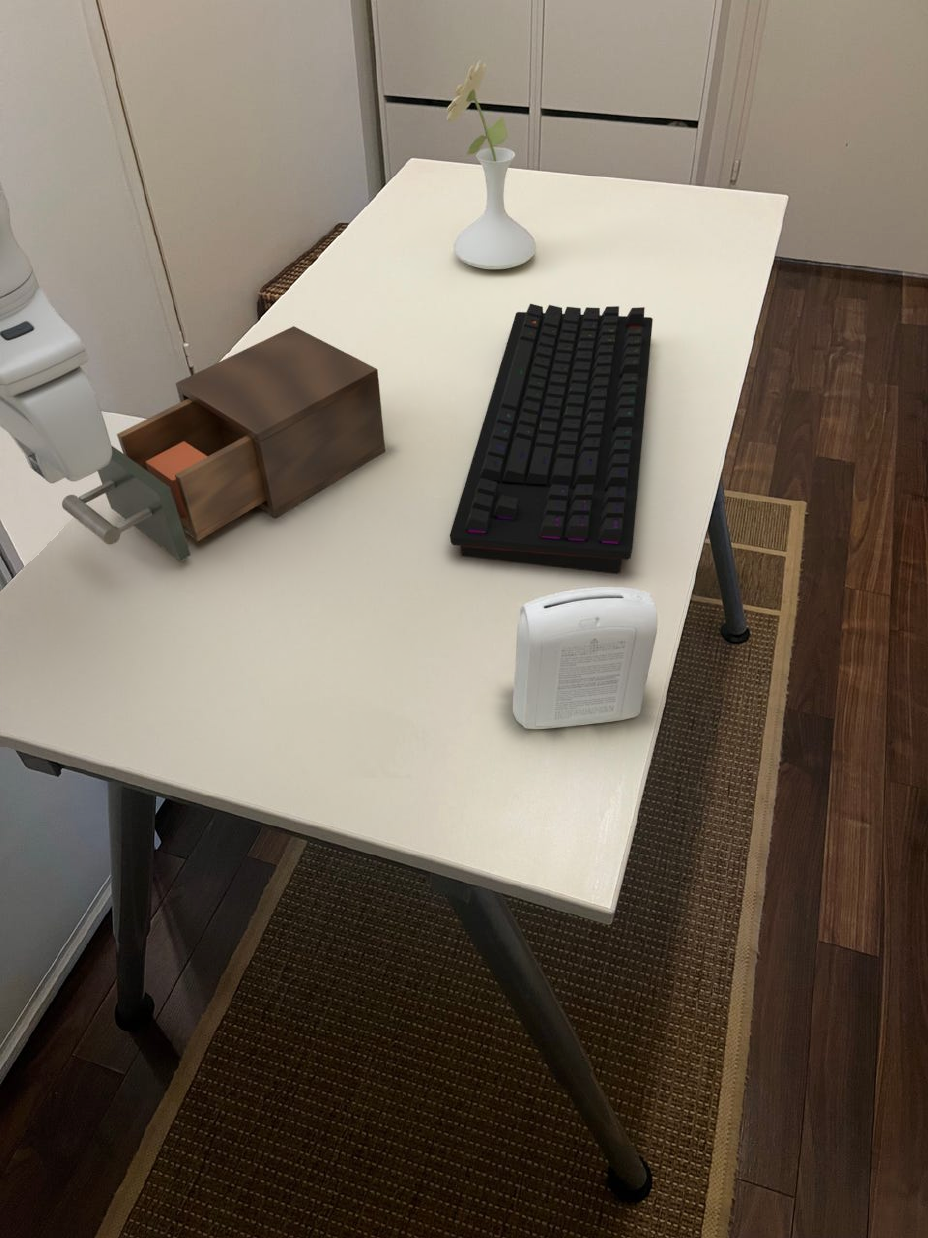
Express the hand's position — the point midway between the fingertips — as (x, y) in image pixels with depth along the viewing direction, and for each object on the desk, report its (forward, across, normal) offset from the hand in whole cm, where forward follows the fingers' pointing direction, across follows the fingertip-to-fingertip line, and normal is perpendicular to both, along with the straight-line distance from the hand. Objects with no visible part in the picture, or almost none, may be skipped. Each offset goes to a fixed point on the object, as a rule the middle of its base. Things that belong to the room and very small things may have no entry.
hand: (50, 473), depth 77 cm
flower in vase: (+12, -16, +72) cm, 74 cm away
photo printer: (+12, +42, +18) cm, 47 cm away
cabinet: (+12, 0, +24) cm, 26 cm away
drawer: (+11, 0, +10) cm, 15 cm away
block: (+10, 0, +11) cm, 15 cm away
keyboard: (+12, +18, +46) cm, 51 cm away
